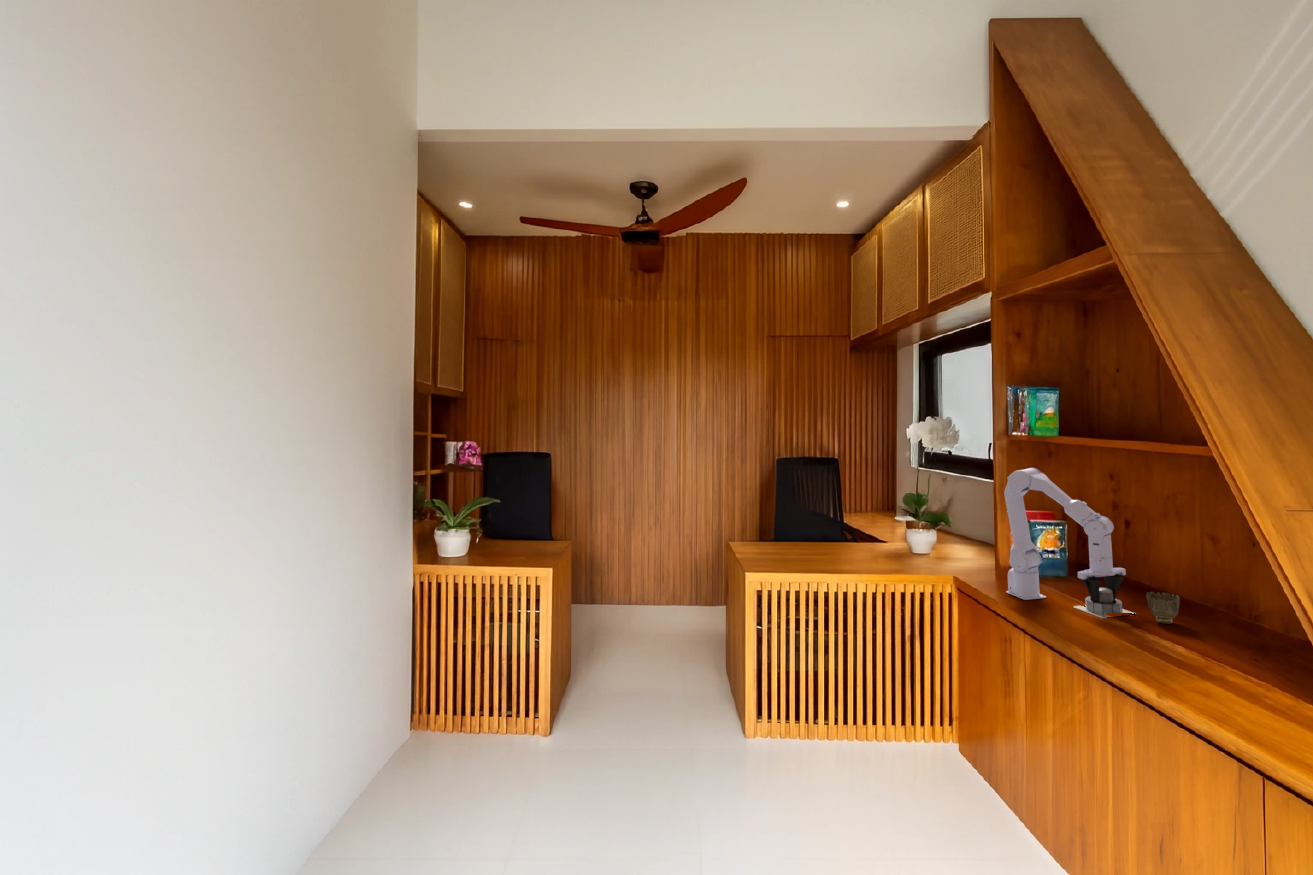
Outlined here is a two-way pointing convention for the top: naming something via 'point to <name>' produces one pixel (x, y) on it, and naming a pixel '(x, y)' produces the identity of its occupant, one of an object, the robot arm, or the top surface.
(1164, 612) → the cup
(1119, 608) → the flanged metal ring
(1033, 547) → the robot arm
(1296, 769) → the top surface
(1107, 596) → the cap
